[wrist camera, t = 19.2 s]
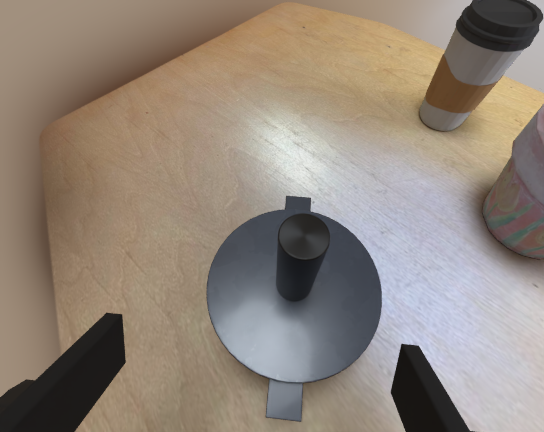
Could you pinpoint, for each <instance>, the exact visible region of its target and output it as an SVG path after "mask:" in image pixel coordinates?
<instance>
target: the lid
mask: <svg viewBox="0 0 544 432" xmlns="http://www.w3.org/2000/svg"><path fill="white" fill-rule="evenodd" d="M207 305H208V311H209V315H210V319H211V322H212V324H213V327H214V329H215V332H216V334H217V335H218V337H219V339H220V341H221V342H222V344H223V345H224V346H225V348H226V349H227V350H228V351H229V353H230V354H231V355H232V356H233V357H234V358H235V359H237V360H238V361H239V362H240V363H241V364H243V365H244V366H245V367H247V368H248V369H249V370H251V371H253V372H255V373H257V374H259V375H261V376H263V377H266V378H269V379H272V380H275V381H280V382H285V383H309V382H315V381H319V380H323V379H326V378H329V377H331V376H333V375H335V374H338V373H339V372H341V371H343V370H344V369H346V368H347V367H349V366H350V365H351V364H352V363H353V362H355V361H356V360H357V359H358V358H359V357H360V356H361V354H362V353H363V352H364V351H365V350H366V348H367V347H368V345H369V343H370V342H371V340H372V339H373V336H374V334H375V332H376V329H377V327H378V323H379V319H380V316H381V307H382V291H381V284H380V279H379V276H378V272H377V269H376V267H375V265H374V262H373V260H372V258H371V256H370V255H369V253H368V251H367V250H366V248H365V247H364V246H363V244H362V243H361V242H360V241H359V240H358V239H357V237H356V236H355V235H354V234H353V233H351V232H350V231H349V230H348V229H347V228H345V227H344V226H342V225H341V224H339V223H338V222H336V221H334V220H332V219H330V218H329V217H326V216H324V215H321V214H318V213H314V212H311V211H305V210H297V209H286V210H277V211H272V212H268V213H264V214H261V215H259V216H257V217H254V218H252V219H250V220H249V221H247V222H245V223H244V224H242V225H241V226H239V227H238V228H237V229H236V230H234V231H233V232H232V233H231V234H230V235H229V236H228V237H227V239H226V240H225V241H224V243H223V244H222V245H221V247H220V248H219V250H218V252H217V253H216V255H215V257H214V260H213V262H212V264H211V268H210V271H209V275H208V281H207Z"/></svg>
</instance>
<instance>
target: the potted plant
mask: <svg viewBox="0 0 544 432" xmlns="http://www.w3.org/2000/svg"><path fill="white" fill-rule="evenodd" d="M482 214H483V217H484V219H485V222H486V224H487V227H488V229H489V231H490V232H491V233H492V234H493V236H494V237H495V238H496V239H497V240H498V241H500V242H501V243H502V244H503V245H504V246H506V247H507V248H509V249H510V250H512V251H514V252H516V253H518V254H520V255H523V256H527V257H531V258H535V259H544V104H543V105H542V107H541V108H540V109H539V110H538V112H537V113H536V114H535V115H534V117H533V118H532V119H531V120H530V122H529V123H528V124H527V125H526V126H525V128H524V129H523V130H522V131H521V133H520V134H519V135H518V136H517V138H516V139H515V140H514V141H513V147H512V156H511V158H510V159H509V161H508V163H507V164H506V166H505V168H504V169H503V171H502V173H501V174H500V176H499V178H498V179H497V181H496V183H495V184H494V186H493V188H492V189H491V191H490V192H489V194H488V196H487V197H486V199H485V201H484V205H483V211H482Z"/></svg>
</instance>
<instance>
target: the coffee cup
mask: <svg viewBox="0 0 544 432" xmlns="http://www.w3.org/2000/svg"><path fill="white" fill-rule="evenodd" d="M542 20H543V14H542V12H541V10H540V9H539V8H538V7H537V6H536V5H534V4H533V3H531V2H529V1H527V0H473V1H472V3H471V4H470V6H468V7H466V8H465V9H464V10H463V12H462V15H461V16H460V18H459V19H458V20H457V22H456V28H455V31H454V33H453V35H452V37H451V39H450V42H449V44H448V46H447V49H446V51H445V53H444V54H443V56H442V58H441V60H440V62H439V65H438V67H437V69H436V72H435V74H434V76H433V78H432V81H431V83H430V85H429V87H428V90H427V92H426V95H425V98H424V100H423V102H422V105H421V107H420V118H421V120H422V121H423V122H424V123H425V124H426V125H427V126H429V127H431V128H433V129H436V130H439V131H450V130H453V129H455V128H457V127H458V126H460V125H461V124H462V123H463V122H464V120H465V119H466V118H467V117H468V116H469V115H470V113H471V112H472V111H473V110H474V109H475V108H476V107H477V106H478V105H479V103H480V102H481V101H482V100H483V99H484V98H485V96H486V95H487V94H488V93H489V92H490V90H491V89H492V88H493V87H494V86H495V85H496V83H497V82H498V81H499V80H500V78H501V77H502V76H503V74H504V73H505V72H506V70H507V69H508V68H509V67H510V66H511V64H512V63H513V62H514V61H515V60H516V58H517V57H518V56H519V55H520V54H521V52H522V51H523V50H524V49H525V48H527V47H529V46H530V44H531V43H532V41H533V39H534V37H535V36H536V34H537V33H538V31H539V24H540V23H541V21H542Z"/></svg>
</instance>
